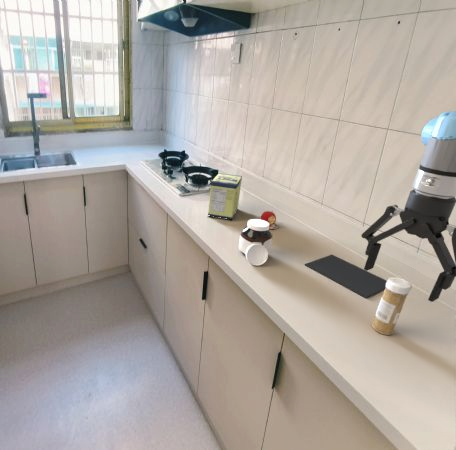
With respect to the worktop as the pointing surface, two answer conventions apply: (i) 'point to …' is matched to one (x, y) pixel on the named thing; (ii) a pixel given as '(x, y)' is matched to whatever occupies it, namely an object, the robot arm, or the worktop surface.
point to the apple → (269, 219)
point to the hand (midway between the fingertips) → (398, 283)
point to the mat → (348, 275)
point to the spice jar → (391, 305)
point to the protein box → (224, 195)
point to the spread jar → (256, 241)
